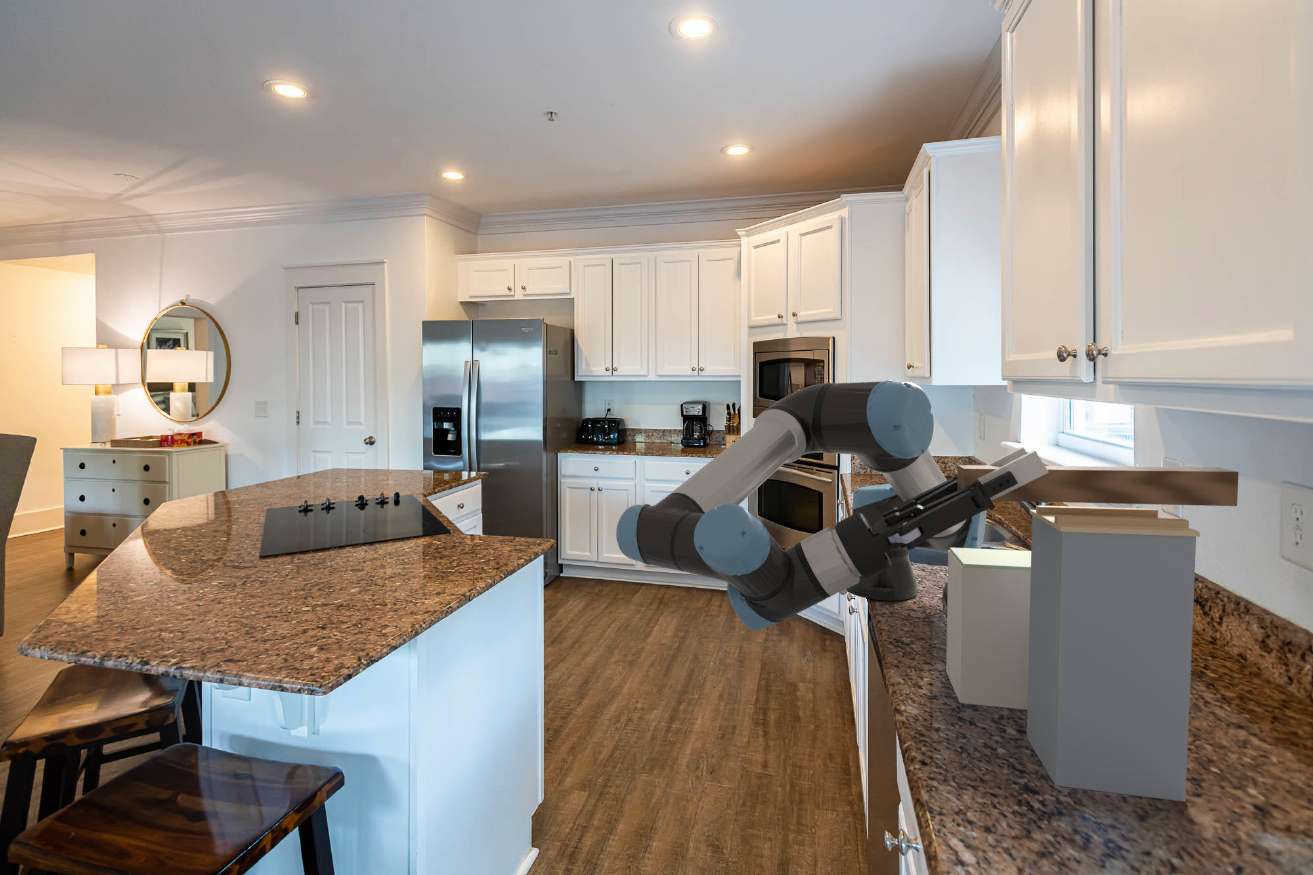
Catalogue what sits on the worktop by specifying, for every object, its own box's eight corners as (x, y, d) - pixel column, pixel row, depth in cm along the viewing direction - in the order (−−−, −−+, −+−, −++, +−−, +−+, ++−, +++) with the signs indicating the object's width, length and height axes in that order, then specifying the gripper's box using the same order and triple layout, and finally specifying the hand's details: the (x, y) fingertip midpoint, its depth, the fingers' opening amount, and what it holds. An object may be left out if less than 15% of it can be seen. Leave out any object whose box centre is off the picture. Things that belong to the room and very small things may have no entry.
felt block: (960, 702, 87) (962, 564, 86) (946, 672, 97) (948, 547, 96) (1127, 719, 82) (1132, 572, 81) (1095, 685, 92) (1099, 553, 91)
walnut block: (1216, 500, 69) (1217, 467, 69) (1237, 506, 66) (1238, 471, 65) (957, 494, 76) (957, 465, 75) (963, 500, 72) (964, 468, 72)
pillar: (1140, 749, 76) (1148, 506, 74) (1188, 803, 66) (1200, 523, 64) (1024, 736, 79) (1029, 503, 77) (1054, 786, 69) (1061, 519, 67)
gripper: (859, 561, 85) (1029, 478, 79) (868, 601, 69) (1082, 500, 63) (830, 513, 86) (997, 426, 80) (832, 541, 70) (1041, 435, 64)
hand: (1034, 459), depth 72 cm, fingers closed on walnut block, 4 cm apart
